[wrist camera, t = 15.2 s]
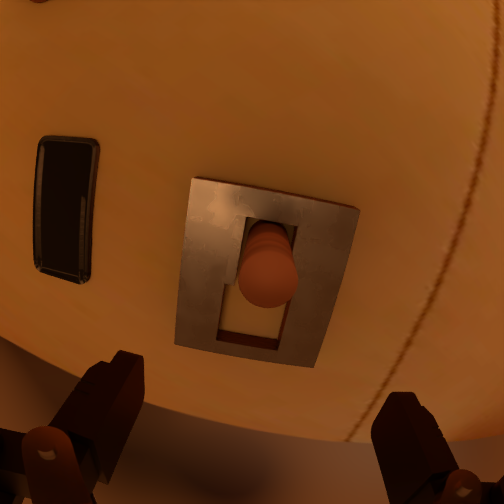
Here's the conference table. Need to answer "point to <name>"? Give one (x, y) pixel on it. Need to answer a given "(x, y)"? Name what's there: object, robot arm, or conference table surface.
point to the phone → (64, 206)
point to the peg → (268, 266)
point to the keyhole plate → (227, 258)
